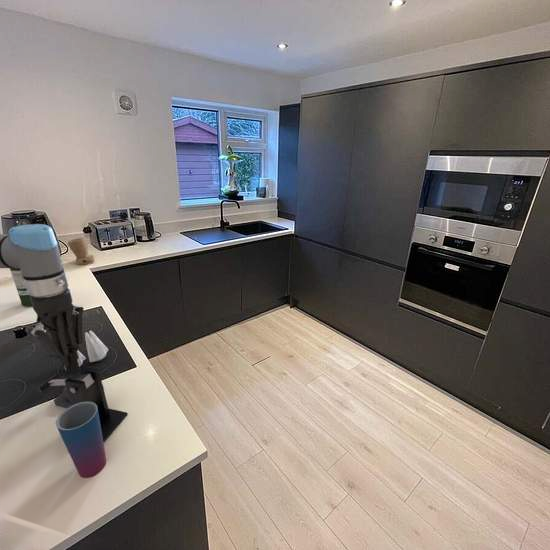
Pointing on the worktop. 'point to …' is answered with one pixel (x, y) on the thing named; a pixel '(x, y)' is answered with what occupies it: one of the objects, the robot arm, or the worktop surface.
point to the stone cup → (81, 251)
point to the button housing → (63, 399)
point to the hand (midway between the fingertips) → (73, 372)
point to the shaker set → (93, 349)
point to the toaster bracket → (95, 400)
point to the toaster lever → (57, 381)
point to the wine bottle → (21, 287)
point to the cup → (83, 437)
